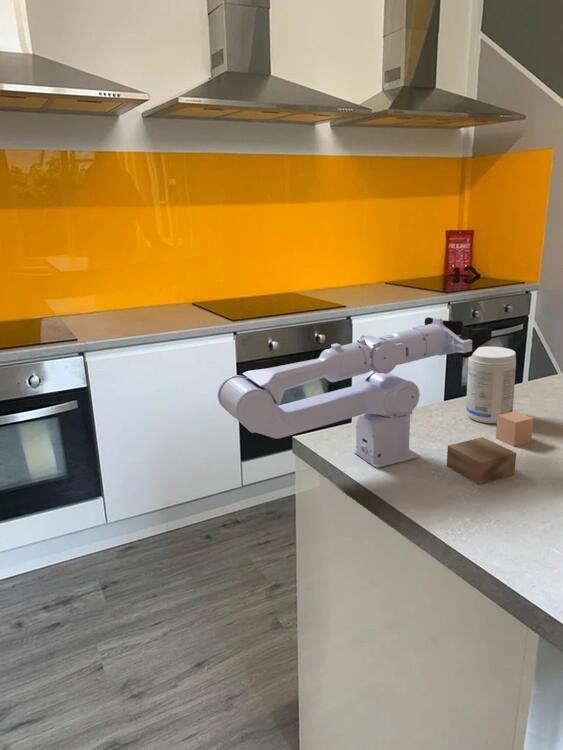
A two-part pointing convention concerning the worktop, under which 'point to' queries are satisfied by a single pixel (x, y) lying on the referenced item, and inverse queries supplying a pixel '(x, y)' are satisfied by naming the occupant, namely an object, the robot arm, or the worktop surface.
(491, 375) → the supplement tub
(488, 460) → the walnut block
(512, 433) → the orange-tan cube
